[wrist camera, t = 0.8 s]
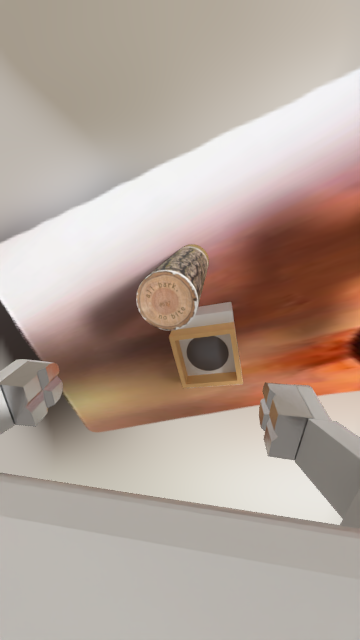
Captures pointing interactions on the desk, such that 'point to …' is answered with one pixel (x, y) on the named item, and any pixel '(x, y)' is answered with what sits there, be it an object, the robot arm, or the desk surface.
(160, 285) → the paper tube
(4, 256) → the desk surface
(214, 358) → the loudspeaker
